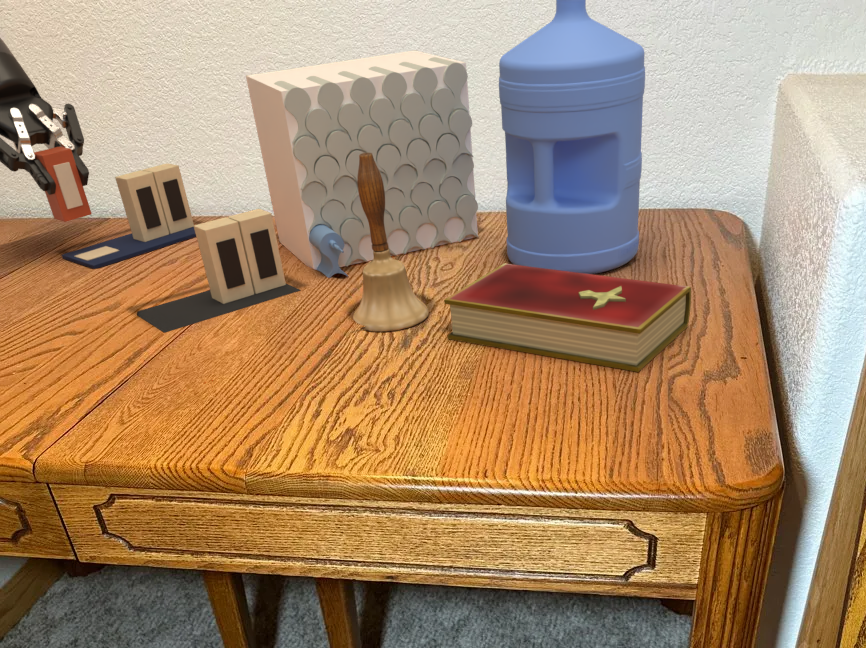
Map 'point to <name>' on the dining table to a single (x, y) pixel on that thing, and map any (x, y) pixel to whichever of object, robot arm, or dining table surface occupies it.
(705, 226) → the dining table surface
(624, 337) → the hardcover book
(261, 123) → the scalloped white box
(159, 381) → the dining table surface
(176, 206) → the mat
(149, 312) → the front word mat
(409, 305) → the hand bell
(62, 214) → the red rectangular block
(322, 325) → the dining table surface
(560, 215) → the water jug
